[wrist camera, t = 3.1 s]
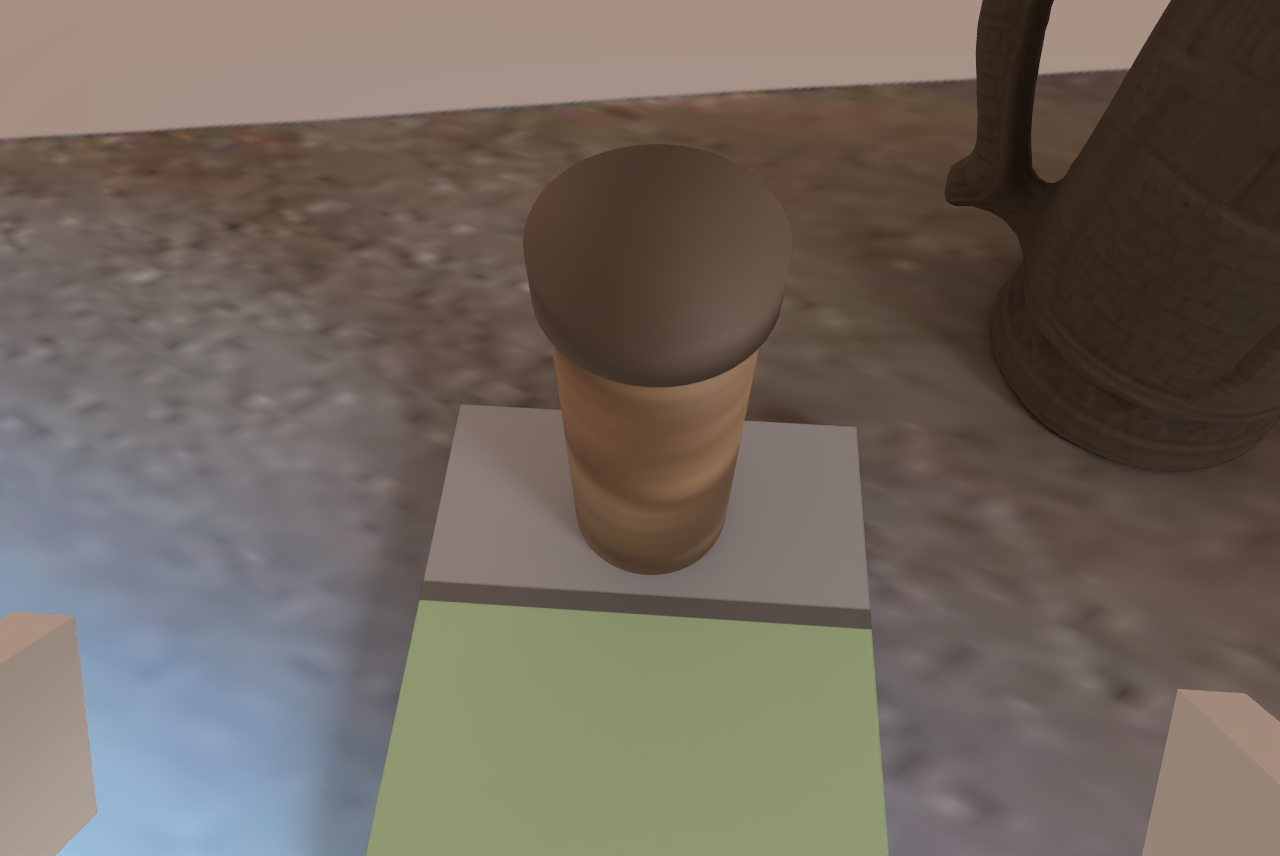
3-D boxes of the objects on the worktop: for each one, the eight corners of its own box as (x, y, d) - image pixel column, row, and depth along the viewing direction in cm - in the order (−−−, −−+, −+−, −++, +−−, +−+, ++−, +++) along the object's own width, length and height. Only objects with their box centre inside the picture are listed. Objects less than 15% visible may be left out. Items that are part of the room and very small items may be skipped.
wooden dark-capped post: (736, 437, 30) (789, 150, 19) (734, 589, 27) (796, 351, 16) (576, 428, 30) (541, 138, 19) (557, 578, 27) (504, 334, 17)
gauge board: (848, 447, 31) (856, 426, 30) (912, 1392, 19) (931, 1423, 18) (467, 425, 32) (460, 403, 31) (283, 1332, 19) (258, 1358, 18)
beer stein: (1312, 316, 34) (1884, -319, 18) (1278, 531, 29) (2027, -72, 13) (936, 205, 39) (1110, -379, 23) (851, 375, 34) (994, -215, 18)
